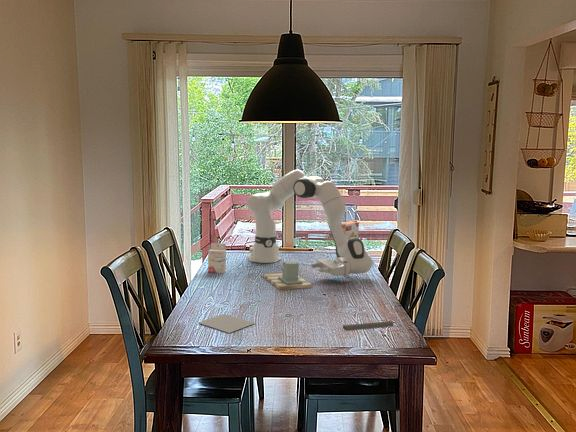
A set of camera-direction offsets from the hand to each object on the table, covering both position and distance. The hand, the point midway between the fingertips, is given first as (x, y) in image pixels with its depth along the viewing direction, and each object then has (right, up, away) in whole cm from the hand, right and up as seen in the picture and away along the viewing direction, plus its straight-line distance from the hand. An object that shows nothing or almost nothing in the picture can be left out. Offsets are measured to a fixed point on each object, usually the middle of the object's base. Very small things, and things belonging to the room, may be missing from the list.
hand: (315, 267), depth 273 cm
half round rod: (+17, -17, -61) cm, 66 cm away
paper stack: (-30, -16, -59) cm, 69 cm away
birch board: (-14, -7, +1) cm, 16 cm away
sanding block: (-12, -6, -4) cm, 14 cm away
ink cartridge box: (-50, -4, +19) cm, 54 cm away
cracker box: (+22, +1, +57) cm, 61 cm away
